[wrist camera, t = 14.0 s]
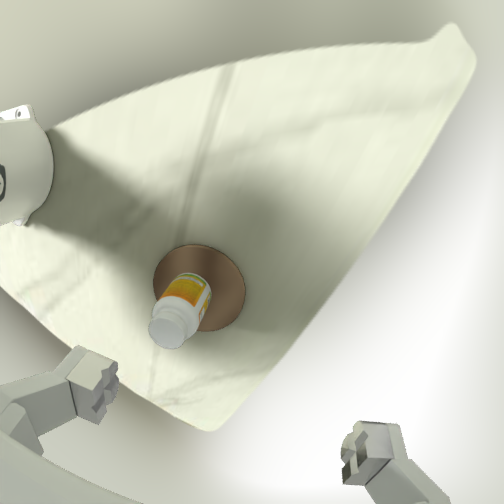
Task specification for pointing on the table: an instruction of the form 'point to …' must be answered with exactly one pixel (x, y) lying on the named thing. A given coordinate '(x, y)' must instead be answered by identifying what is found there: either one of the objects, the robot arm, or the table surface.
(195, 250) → the walnut coaster
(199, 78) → the table surface
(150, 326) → the supplement bottle
